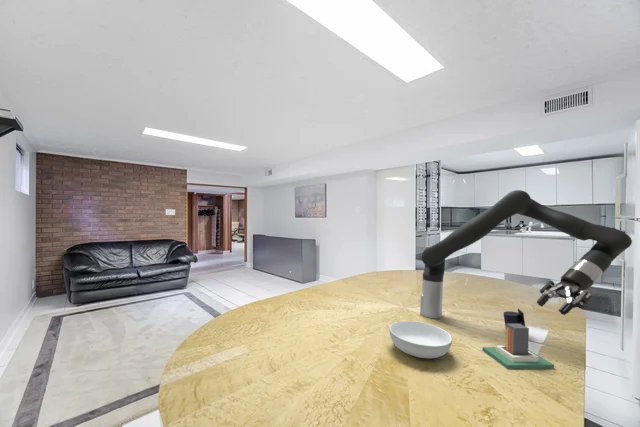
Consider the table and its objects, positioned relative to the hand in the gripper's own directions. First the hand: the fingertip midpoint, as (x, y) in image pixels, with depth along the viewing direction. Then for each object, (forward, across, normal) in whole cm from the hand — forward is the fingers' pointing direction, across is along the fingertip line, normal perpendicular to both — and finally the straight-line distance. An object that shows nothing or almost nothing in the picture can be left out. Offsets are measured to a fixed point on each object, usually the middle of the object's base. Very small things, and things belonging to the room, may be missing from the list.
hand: (549, 308), depth 96 cm
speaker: (+10, -20, +15) cm, 27 cm away
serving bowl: (+43, -6, -18) cm, 47 cm away
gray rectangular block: (+20, 0, +3) cm, 20 cm away
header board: (+20, 0, +4) cm, 21 cm away
